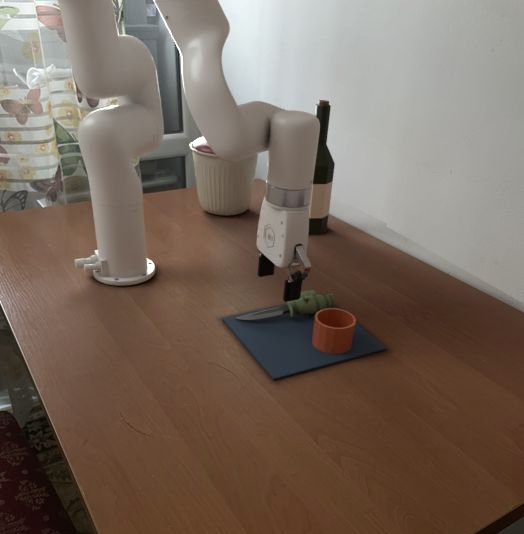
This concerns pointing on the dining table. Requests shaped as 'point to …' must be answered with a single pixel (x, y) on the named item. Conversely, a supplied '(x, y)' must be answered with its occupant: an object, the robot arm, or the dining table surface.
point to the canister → (222, 180)
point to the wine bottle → (321, 174)
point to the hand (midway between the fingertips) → (278, 287)
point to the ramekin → (333, 330)
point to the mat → (293, 343)
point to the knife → (296, 307)
